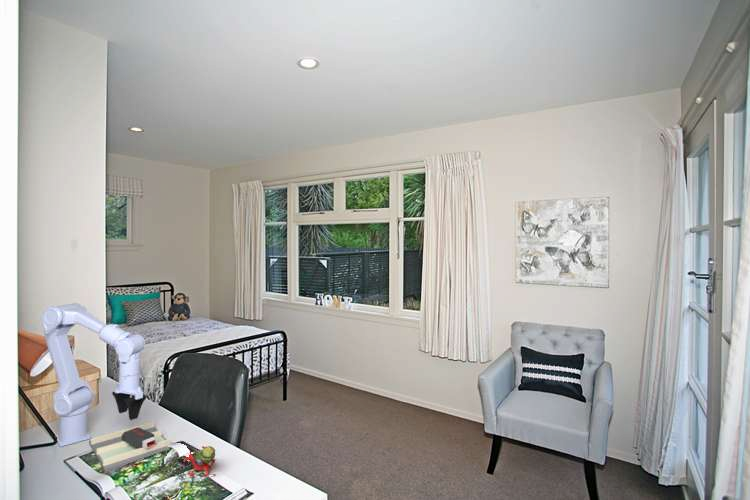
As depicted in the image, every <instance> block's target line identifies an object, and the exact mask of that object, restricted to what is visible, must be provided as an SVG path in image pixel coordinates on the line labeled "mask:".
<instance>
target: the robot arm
mask: <svg viewBox="0 0 750 500" xmlns="http://www.w3.org/2000/svg"><path fill="white" fill-rule="evenodd" d="M40 320H41V323H42V327H43V335H44V339H45V342H46V346H47V349H48V352H49V356H50V360H51V362H52V365H53V366H52V367H53V369H54V372H55V376H56V378H57V379H56V380H57V382H58V388H57V389H56V390H55V391H54V393H53V394H52V397H53V410H54V411H55V413H56V414H57V415H58V416H59V433H57V434H56V435H55V438H56V437H57V439H56V441H57V444H58V445H59V447H65V446H68V445H71V444H75V443H79V442H82V441H87V440H91V439H92V437H91V435H90V433H89V431H88V420H89V419H88V415H89V413H88V412H89V409H90V405H91V404H92V403H93V402H94V399H95V393H94V391H93V388H91V387H90V385H89V382H88V381H86V380H84V379H81V378H80V374H79V371H78V367H77V364H76V361H75V357H74V355H73V350H72V348H71V345H70V340H69V337H68V333H69V332H70V330H71V329H73V327H74V326H75V325H77V324H78V325H80V326H82V327H84V328H86V329H88V330H90V331H92V332H94V333H97V334H98V338H99V340H100V341H102V342H104V343H106V344H107V345H109V346H111V347H112V348H114V349H115V352H116V354H117V355H118V361H119V368H118V369H119V373H118V374H119V375H118V382H116V383H115V389H114V391H112V392H111V394H112V396H113V397H114V399H115V403H116V406H117V411H118V413H119V414H123V413H126V412H128V419H129V420H130V421H133V420H135V419H136V420H137V419H138V417H139V414H140V411H141V408H142V405H143V404H144V402H145V400H146V399H147V396H146V395H145V394H144V392H143V391H142V386H141V385H140V383H141V382H140V381H141V380H140V378H141V377H140V376H141V357H142V354H141V353H142V351H143V350H144V348H145V347H146V341H145V339H144V337H143V336H142V335H140V334H137V333H135V334H132V333H131V332H129V331H126V330H124V329H123V328H121V327H120V325H118V323H109V324H106V323H105V322H104V321H102V320H101V319H99V318H98V317H97V316H95V315H93V314H92V313H91V312H89V311H88V309H87V307H85V306H84V305H82V304H80V303H78V302H74V303H73V302H72V303H69V304H62V305H57V306H49V307H47V308H46V309H44V311H43V313H42V315H41V316H40Z"/></svg>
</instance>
